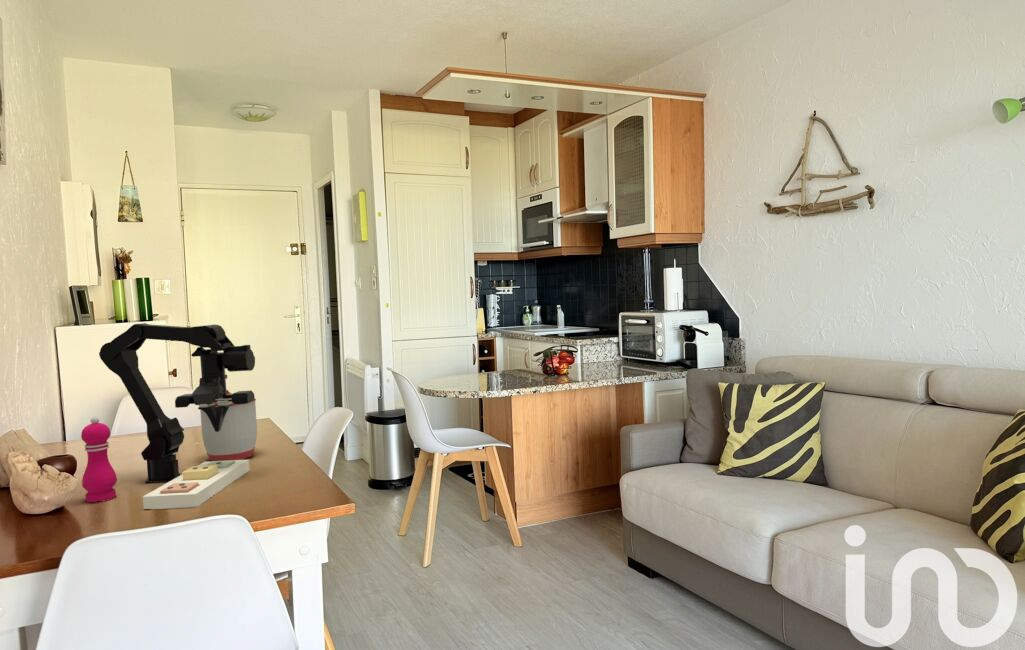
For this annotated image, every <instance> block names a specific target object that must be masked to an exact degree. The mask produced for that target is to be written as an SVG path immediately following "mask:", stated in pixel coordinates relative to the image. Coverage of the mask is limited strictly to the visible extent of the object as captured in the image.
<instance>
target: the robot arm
mask: <svg viewBox="0 0 1025 650" xmlns="http://www.w3.org/2000/svg"><path fill="white" fill-rule="evenodd" d="M146 340H155V341H156V340H157V341H158V340H159V341H173V342H183V343H188V344H190V345H193V346H194V347H195V346H196V350H195V351H193V352H192V353H191V354H190V355H191V357H192V358H193V357H199V359H200V372H201V377H200V378H199V384H198V386H197V387H196V388H195V389H194V390H193V391H192V393H185V394H182V395H178V396H176V398H175V400H174V408H176V409H177V408H179V409H180V408H188V407H189V406H190V405H194V406H198V407H197V409H198V410H203V411H204V412H205V413H206V414H207V416H208V418H209V419H210V421H211V424H212V426H213V428H214V430H215V432H219V431H220V429H221V426H222V423H223V421H224V418H225V415H226V413H227V411H228V409H229V407H230V406H232V405H233V403H234V404H247V403H250V402H252V401H254V400H255V399H256V398H255V393H254V391H253V390H238V391H236V392H234V393H232V395H227V394H228V391H229V390H228V389H227V382H226V381H227V379H228V374H226V370H227V371H228V372H232V373H233V372H251V371H253V370H254V369H255V365H256V358H255V357H256V356H255V355H254V352H253V350H252V349H251V345H250V344H243V345H237V346H236V345H235V344H234V343H233V342H232V341H231V340H230V339H229V337H228V336H227V335H226V331H225V329H224V328H223V326H221V325H219V324H206V325H199V326H198V325H196V326H175V325H164V324H163V325H162V324H149V323H145V322H143V323H134V324H132V325H131V326H130V327H128V329H126V330H125V331H124V332H122V333H121V334H119V335H118V336H116V337H115V338H114V339H112V340H111V341H110V342H106V343H104V344H102V345H101V348H100V349H99V352H98V355H99V358H100V360H101V361H102V362H103V364H104V365H105V366H106V368H107V369H109V371H111V372H113V373H114V374H115V375H117V376H118V377H119V378H120V381H121V382H122V384H123V385H124V387H125V389H126V391H127V392H128V394H129V395H130V397H131V400H132V401H133V403H134V405H135V406H136V408H137V410H138V411H139V413H140V415H141V417H142V419H143V420H144V422H145V424H146V437H147V440H148V442H149V443H148V444H147V446H146V447H145V448H144V449H143V450H142V451H141V456H142V459H143V460H144V461H146V469H147V479H145V481H144V483H161V482H162V483H168V482H170V481H171V480H173V479H175V478H177V477H179V476H180V475H181V473H180V471H179V467H180V466H179V460H178V459H177V455H176V453H178V452H179V449H180V446H181V445H182V444H183V442H184V440H185V434H184V431H185V429H184V427H183V426H181V424H180V421H179V420H178V418H177V417H173V418H170V417H168V416H167V415H166V414H165V413H164V411H163V409H162V407H161V406H160V404H159V402H158V401H157V399H156V397H155V395H154V393H153V391H152V390H151V387H149V384H148V383H147V381H146V380H145V378H144V376H143V374H142V372H141V370H140V369H139V356H138V353H137V351H138V350H139V349H140V348H142V346H143V345H144V343H145V341H146ZM206 348H208V349H206ZM222 351H223V352H222ZM255 401H256V400H255ZM214 402H217V404H214ZM232 402H233V403H232Z"/></svg>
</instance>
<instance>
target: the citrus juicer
mask: <svg viewBox="0 0 1025 650" xmlns="http://www.w3.org/2000/svg"><path fill="white" fill-rule="evenodd" d="M232 394H233V393H232V392H230V391H229V390H228V394H227V395H232ZM256 401H257V398H255V400H254V401H252V402H250V403H247V404H234V403H233V402H232V403H233V405H232V406H230V407H229V409H228V411H227V413H226V415H225V418H224V421H223V423H222V426H221V429H220V431H219V432H215V430H214V428H213V426H212V424H211V421H210V419H209V418H208V416H207V414H206V413H205V412H204V411H203V410H200V423H201V435H202V437H201V438H202V442H203V446H204V449H205V450H206V455H207V456H208V458H209V460H210V461H227V460H246V459H247V458H248V459H249V457H250V458H251V457H252V456H253V455H254V451H255V449H256V444H257V442H256V441H257V435H258V424H257V423H258V421H257V411H256V410H257V409H256ZM214 404H217V402H214Z"/></svg>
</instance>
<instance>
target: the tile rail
mask: <svg viewBox="0 0 1025 650" xmlns="http://www.w3.org/2000/svg"><path fill="white" fill-rule="evenodd" d="M210 462H212V461H211V460H210V461H203V462H202V463H200V464H198V465H197V466H204V465H207V464H208V463H210ZM249 471H250V459H240V460H235V463H234V464H232V465H230V466H229V467H227V468H218V474H216V475H215V476H213V477H212V478H210V479H207V480H188V481H183V474H182V473H181V474H180V476H178V477H176V478H174V479H173V480H171V481H167V482H165V483H164V484H163V485H161V486H159V487H158V488H156V489H154V490H152V491H150V492H149V493H147V494H145V495H143V496H142V505H143V510H144V509H151V510H165V509H167V510H168V509H186V508H188V509H189V508H198V507H200V506H201V505H202V504H204V503H205V502H206V501H208V500H209V499H210V497H211V498H212V497H214V496H216V495H217V494H218V493H219V492H221V491H222V490H223V489H225V488H227V487H228V486H229V485H231V484H232V483H234V482H235V481H237V480H238V479H239V478H241V477H242V476H243V475H245V474H246V473H248V472H249ZM191 482H198V485H199V486H197V487H196V488H194V489H193V490H191V491H189V492H188V493H170V494H161V493H160V491H161V490H162V489H164V488H166V487H168V486H169V485H171V484H173V483H191ZM213 495H214V496H213Z"/></svg>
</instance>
